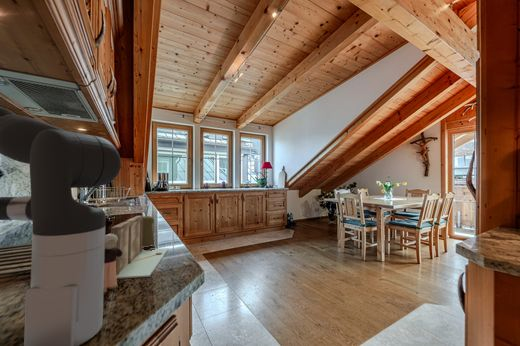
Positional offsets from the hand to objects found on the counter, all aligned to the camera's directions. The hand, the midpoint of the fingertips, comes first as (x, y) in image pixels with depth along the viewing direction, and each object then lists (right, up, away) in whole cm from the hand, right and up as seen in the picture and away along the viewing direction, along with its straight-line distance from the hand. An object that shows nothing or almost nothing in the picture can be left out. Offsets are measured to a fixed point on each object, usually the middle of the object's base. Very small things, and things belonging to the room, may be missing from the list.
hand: (95, 208), depth 73 cm
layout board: (+17, -16, -4) cm, 23 cm away
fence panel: (+13, -15, -1) cm, 20 cm away
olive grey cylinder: (+10, -16, +13) cm, 23 cm away
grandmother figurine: (+18, -16, -21) cm, 31 cm away
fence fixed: (+15, -16, -11) cm, 24 cm away
